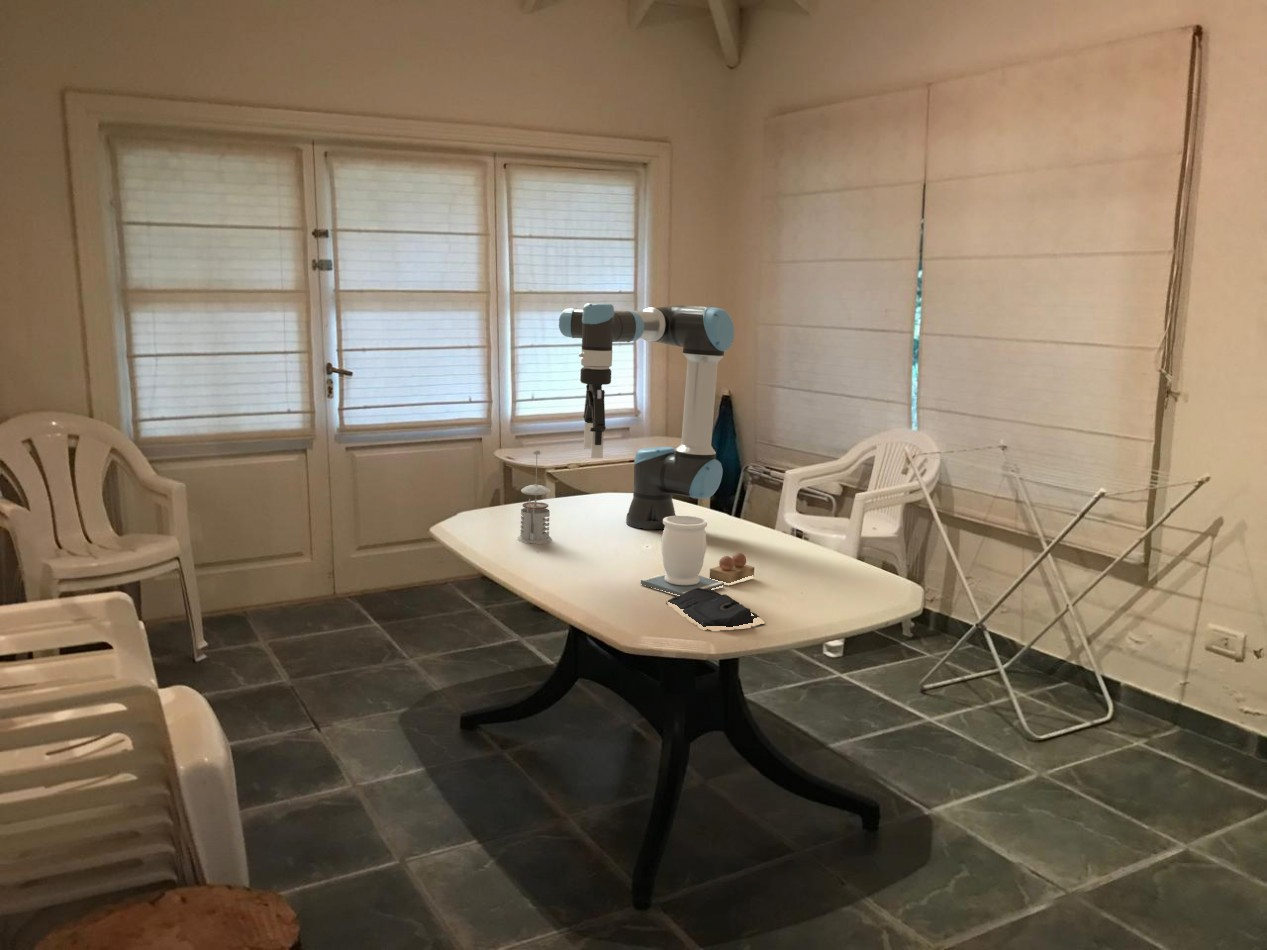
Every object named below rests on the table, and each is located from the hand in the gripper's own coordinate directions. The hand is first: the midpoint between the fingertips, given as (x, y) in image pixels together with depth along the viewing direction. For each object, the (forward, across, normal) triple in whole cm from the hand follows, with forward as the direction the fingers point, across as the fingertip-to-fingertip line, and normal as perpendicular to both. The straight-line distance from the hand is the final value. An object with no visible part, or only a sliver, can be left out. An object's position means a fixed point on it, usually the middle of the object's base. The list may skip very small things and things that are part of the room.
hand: (592, 453), depth 252 cm
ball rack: (+29, +14, +34) cm, 46 cm away
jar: (+28, +19, +20) cm, 39 cm away
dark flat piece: (+29, +39, +22) cm, 54 cm away
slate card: (+29, +19, +20) cm, 40 cm away
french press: (+29, -25, -12) cm, 40 cm away
